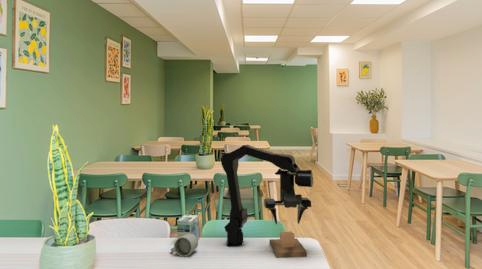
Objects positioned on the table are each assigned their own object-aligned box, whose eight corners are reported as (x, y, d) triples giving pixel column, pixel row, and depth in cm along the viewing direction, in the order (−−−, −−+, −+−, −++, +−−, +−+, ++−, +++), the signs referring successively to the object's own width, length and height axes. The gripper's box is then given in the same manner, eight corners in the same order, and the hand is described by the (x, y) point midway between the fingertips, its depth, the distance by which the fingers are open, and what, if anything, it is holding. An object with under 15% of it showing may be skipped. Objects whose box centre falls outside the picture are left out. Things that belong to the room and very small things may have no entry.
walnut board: (276, 257, 141) (276, 252, 141) (269, 244, 157) (269, 239, 157) (306, 256, 142) (306, 251, 142) (296, 243, 158) (296, 238, 158)
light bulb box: (191, 246, 155) (191, 221, 155) (176, 245, 157) (176, 220, 156) (199, 238, 166) (199, 214, 166) (185, 237, 167) (185, 214, 167)
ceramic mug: (199, 250, 150) (199, 231, 150) (191, 257, 142) (191, 238, 142) (176, 248, 153) (175, 230, 153) (167, 255, 145) (166, 236, 145)
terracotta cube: (282, 247, 147) (282, 235, 147) (280, 243, 152) (279, 231, 152) (294, 247, 147) (294, 234, 147) (291, 243, 152) (291, 231, 152)
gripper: (267, 189, 140) (267, 230, 141) (315, 188, 142) (315, 228, 142) (263, 185, 151) (263, 222, 152) (307, 184, 153) (307, 221, 153)
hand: (287, 223), depth 150 cm, fingers open, 9 cm apart
